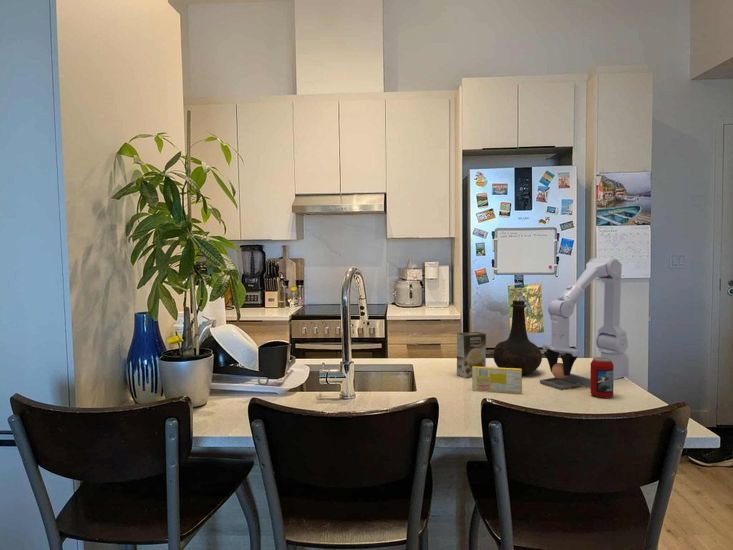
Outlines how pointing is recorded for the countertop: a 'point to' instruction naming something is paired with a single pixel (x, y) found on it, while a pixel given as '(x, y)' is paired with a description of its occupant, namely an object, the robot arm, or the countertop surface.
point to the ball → (558, 371)
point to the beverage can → (602, 377)
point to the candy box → (497, 379)
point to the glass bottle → (518, 345)
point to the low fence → (579, 379)
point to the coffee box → (470, 352)
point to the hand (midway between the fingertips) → (560, 373)
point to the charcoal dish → (560, 383)
